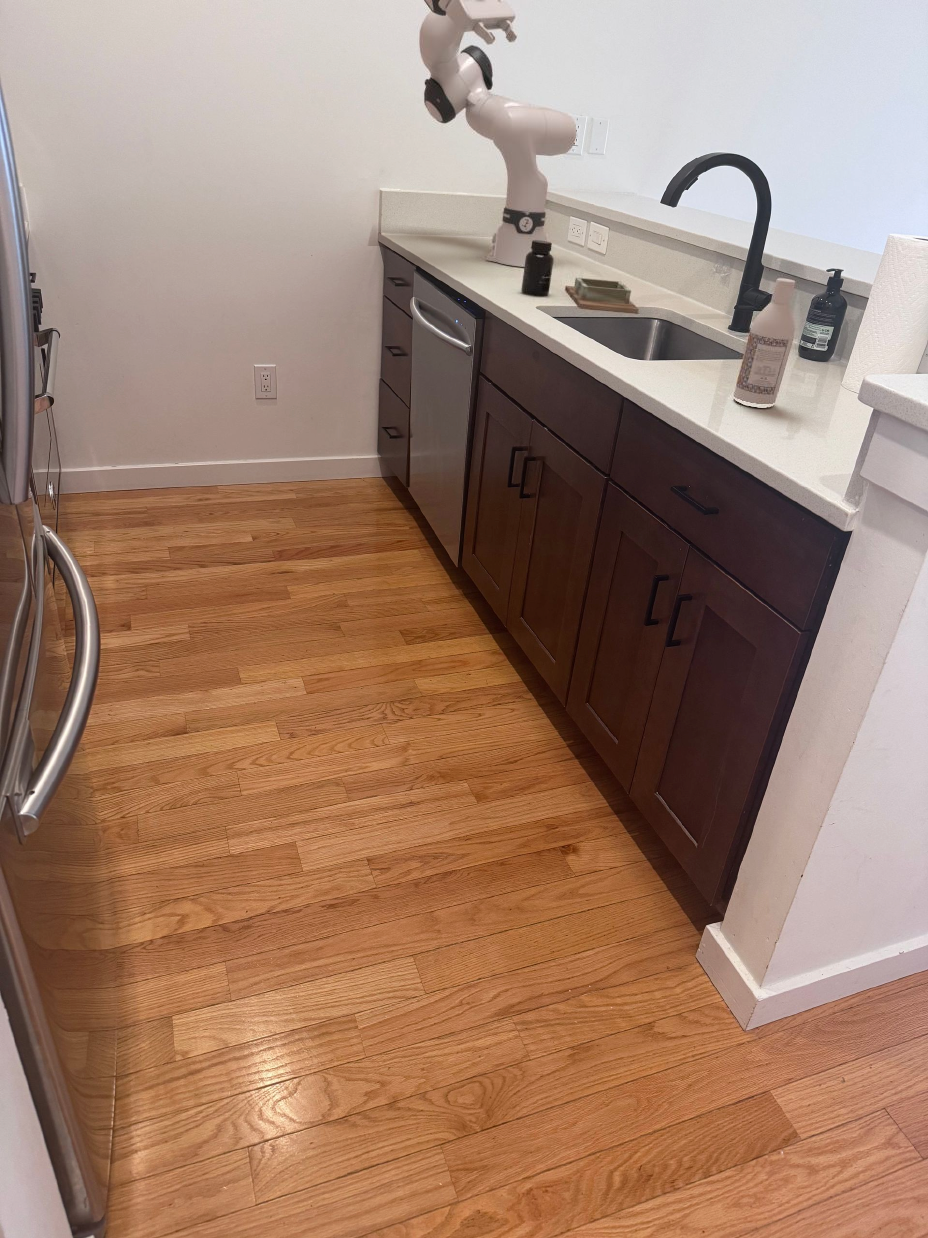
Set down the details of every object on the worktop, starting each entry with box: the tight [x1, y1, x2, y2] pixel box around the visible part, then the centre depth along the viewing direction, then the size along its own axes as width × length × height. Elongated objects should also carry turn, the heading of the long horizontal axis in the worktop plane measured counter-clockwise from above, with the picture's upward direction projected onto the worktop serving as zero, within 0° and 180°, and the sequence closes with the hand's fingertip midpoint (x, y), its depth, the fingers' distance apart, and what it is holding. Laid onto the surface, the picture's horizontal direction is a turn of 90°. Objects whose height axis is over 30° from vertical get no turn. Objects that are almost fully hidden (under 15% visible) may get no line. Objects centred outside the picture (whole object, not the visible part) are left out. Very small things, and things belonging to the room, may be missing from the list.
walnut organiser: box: [564, 277, 640, 314], centre depth 215 cm, size 22×14×4 cm, turn 4°
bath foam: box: [733, 277, 796, 404], centre depth 144 cm, size 7×7×20 cm
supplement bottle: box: [521, 240, 555, 297], centre depth 213 cm, size 7×7×12 cm
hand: (503, 40), depth 204 cm, fingers open, 8 cm apart
